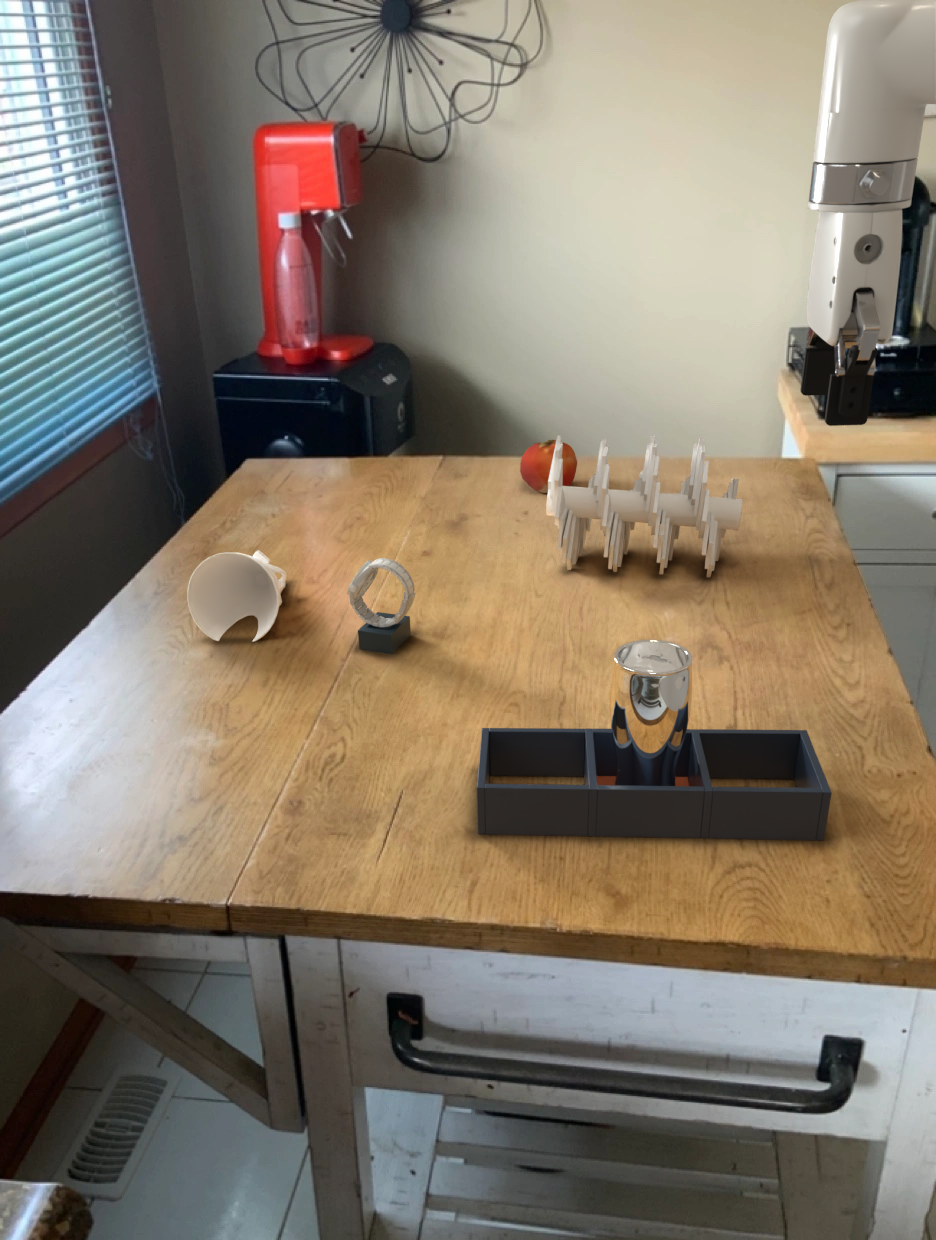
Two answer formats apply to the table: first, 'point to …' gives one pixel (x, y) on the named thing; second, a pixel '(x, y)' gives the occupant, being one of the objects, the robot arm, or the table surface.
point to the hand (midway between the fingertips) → (831, 408)
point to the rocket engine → (234, 592)
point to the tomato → (546, 465)
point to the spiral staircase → (640, 508)
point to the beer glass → (649, 710)
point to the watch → (381, 627)
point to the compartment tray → (652, 787)
